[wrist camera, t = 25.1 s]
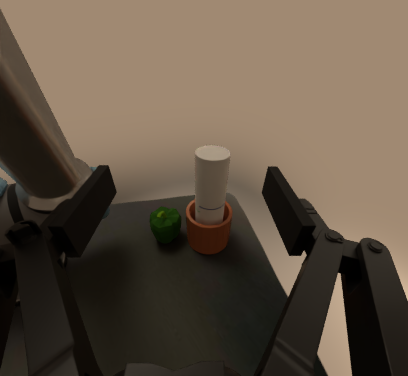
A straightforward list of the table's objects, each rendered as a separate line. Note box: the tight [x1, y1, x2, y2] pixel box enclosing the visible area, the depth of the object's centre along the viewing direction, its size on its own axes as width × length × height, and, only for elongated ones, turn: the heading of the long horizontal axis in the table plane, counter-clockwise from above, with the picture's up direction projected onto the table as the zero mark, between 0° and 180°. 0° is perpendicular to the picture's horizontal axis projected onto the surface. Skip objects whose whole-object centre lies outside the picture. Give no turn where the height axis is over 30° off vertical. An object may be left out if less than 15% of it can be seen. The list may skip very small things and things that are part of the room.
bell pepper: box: [150, 207, 181, 243], centre depth 52 cm, size 8×8×10 cm
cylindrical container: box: [195, 145, 230, 226], centre depth 47 cm, size 7×7×25 cm
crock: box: [186, 199, 232, 254], centre depth 52 cm, size 12×12×10 cm
